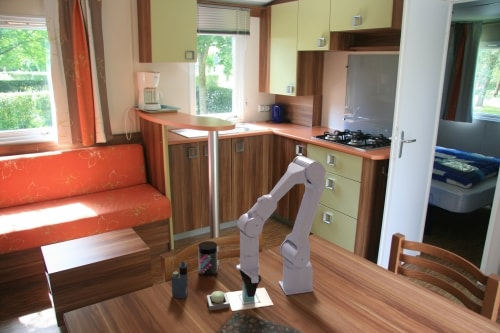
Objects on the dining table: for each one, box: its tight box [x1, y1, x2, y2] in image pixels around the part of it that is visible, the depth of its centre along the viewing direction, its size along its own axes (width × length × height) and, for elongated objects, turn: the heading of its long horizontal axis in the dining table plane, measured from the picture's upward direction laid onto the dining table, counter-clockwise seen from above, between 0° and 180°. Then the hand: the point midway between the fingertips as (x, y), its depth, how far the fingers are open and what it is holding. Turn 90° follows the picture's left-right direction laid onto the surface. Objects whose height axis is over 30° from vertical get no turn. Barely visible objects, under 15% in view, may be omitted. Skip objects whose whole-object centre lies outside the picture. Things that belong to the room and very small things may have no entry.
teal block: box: [241, 280, 255, 302], centre depth 127 cm, size 3×3×6 cm
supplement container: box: [197, 240, 219, 277], centre depth 143 cm, size 7×7×10 cm
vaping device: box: [170, 261, 189, 299], centre depth 128 cm, size 3×5×12 cm, turn 78°
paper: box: [225, 287, 274, 312], centre depth 128 cm, size 13×10×1 cm
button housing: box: [206, 292, 230, 311], centre depth 125 cm, size 6×6×2 cm
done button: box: [210, 290, 225, 304], centre depth 125 cm, size 4×4×2 cm
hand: (249, 291), depth 127 cm, fingers open, 4 cm apart
